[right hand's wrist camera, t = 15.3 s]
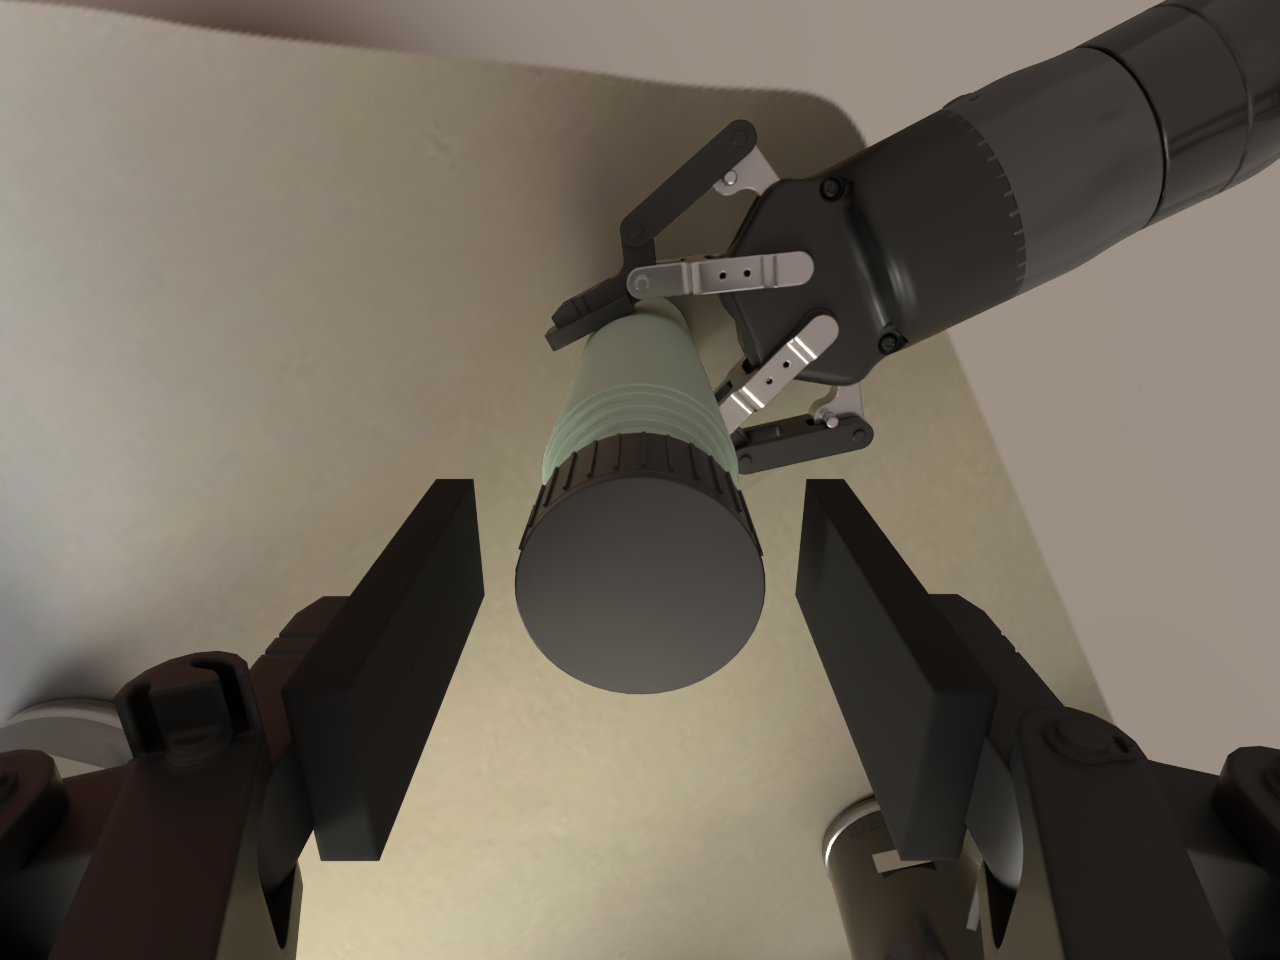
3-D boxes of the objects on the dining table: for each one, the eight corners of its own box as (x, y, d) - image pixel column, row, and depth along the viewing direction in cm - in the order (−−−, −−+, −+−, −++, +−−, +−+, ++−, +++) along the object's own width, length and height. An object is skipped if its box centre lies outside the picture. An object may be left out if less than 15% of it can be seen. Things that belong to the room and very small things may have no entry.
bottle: (646, 410, 36) (655, 728, 14) (570, 348, 35) (453, 593, 13) (710, 336, 35) (830, 564, 13) (634, 269, 33) (622, 395, 12)
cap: (752, 426, 14) (775, 470, 12) (745, 622, 16) (763, 695, 13) (522, 431, 14) (499, 476, 12) (540, 626, 16) (523, 699, 13)
